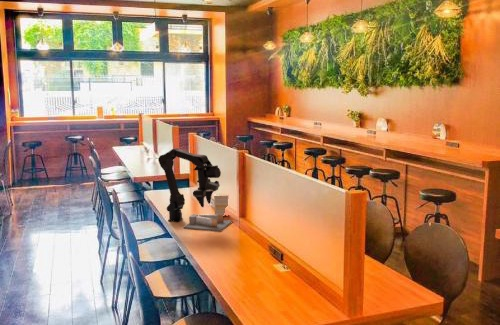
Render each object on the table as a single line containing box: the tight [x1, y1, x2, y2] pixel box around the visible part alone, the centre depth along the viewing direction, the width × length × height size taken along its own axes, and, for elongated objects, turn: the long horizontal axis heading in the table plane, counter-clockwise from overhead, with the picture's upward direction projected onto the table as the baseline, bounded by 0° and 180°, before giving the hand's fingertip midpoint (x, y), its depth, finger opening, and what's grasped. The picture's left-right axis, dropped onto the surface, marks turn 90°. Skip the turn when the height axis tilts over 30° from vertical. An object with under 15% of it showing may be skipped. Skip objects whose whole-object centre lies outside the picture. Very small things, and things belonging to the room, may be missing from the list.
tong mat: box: [183, 213, 233, 233], centre depth 279 cm, size 22×19×5 cm
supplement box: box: [213, 193, 229, 215], centre depth 298 cm, size 8×5×13 cm, turn 84°
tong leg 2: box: [198, 214, 225, 222], centre depth 282 cm, size 14×1×4 cm, turn 86°
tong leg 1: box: [196, 215, 217, 227], centre depth 276 cm, size 14×1×4 cm, turn 58°
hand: (206, 205), depth 278 cm, fingers open, 9 cm apart
